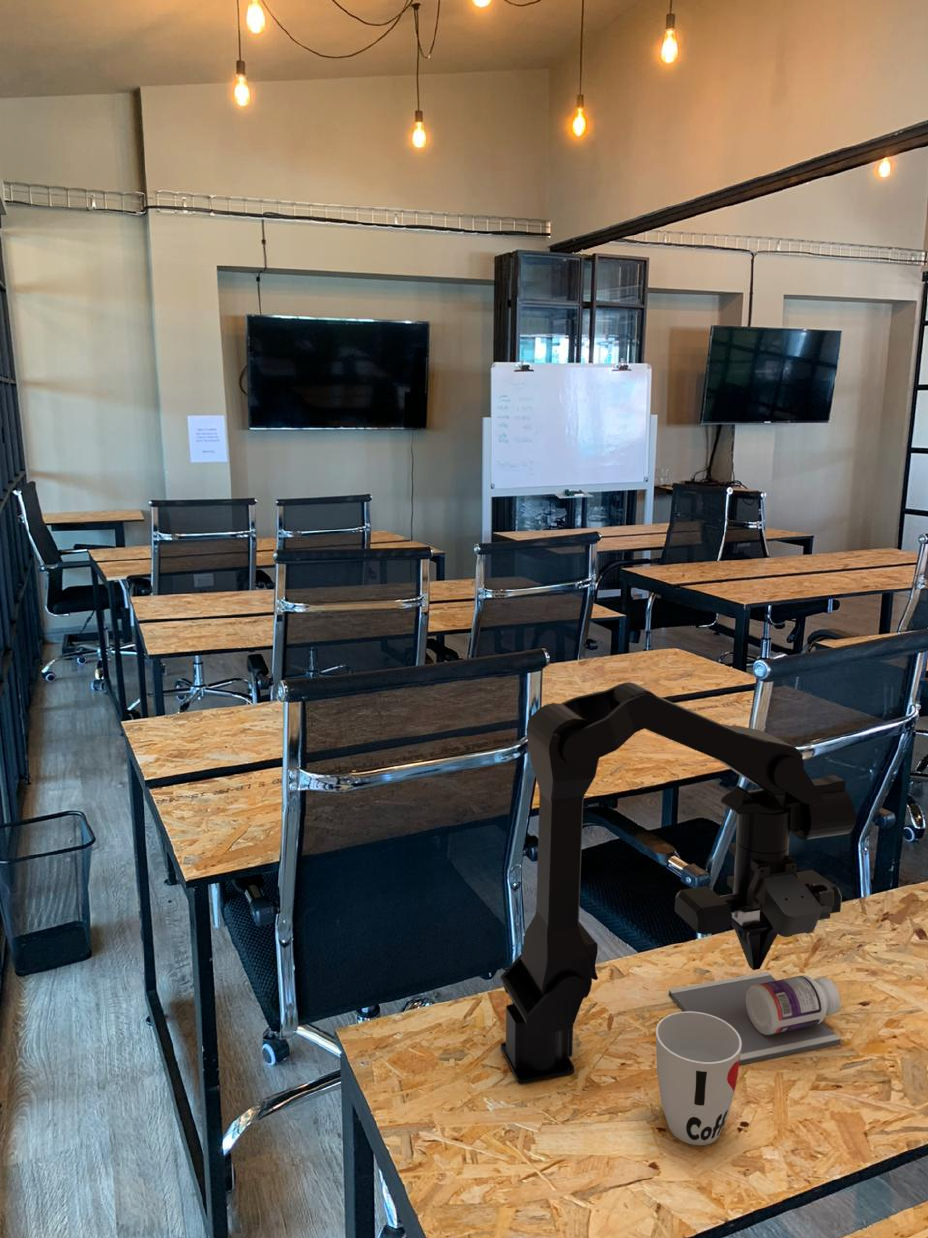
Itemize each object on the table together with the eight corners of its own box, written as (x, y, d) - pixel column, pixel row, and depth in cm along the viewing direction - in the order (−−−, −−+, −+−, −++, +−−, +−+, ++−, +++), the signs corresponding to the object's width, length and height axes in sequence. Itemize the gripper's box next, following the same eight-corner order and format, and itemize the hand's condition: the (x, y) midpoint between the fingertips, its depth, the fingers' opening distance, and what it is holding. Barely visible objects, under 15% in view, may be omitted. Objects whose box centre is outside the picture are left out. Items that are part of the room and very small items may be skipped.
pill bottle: (741, 1013, 109) (811, 999, 111) (768, 1046, 104) (840, 1031, 107) (747, 974, 107) (818, 961, 110) (775, 1007, 102) (849, 992, 105)
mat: (731, 1067, 101) (732, 1061, 101) (668, 994, 114) (668, 989, 114) (840, 1044, 105) (841, 1038, 104) (767, 976, 118) (767, 971, 118)
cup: (684, 1167, 87) (689, 1073, 85) (635, 1111, 94) (639, 1023, 92) (753, 1142, 90) (759, 1050, 88) (701, 1089, 97) (705, 1003, 95)
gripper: (729, 886, 95) (721, 1023, 98) (880, 863, 100) (869, 993, 103) (675, 842, 105) (669, 966, 108) (814, 823, 111) (805, 942, 114)
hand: (754, 968), depth 108 cm, fingers closed
